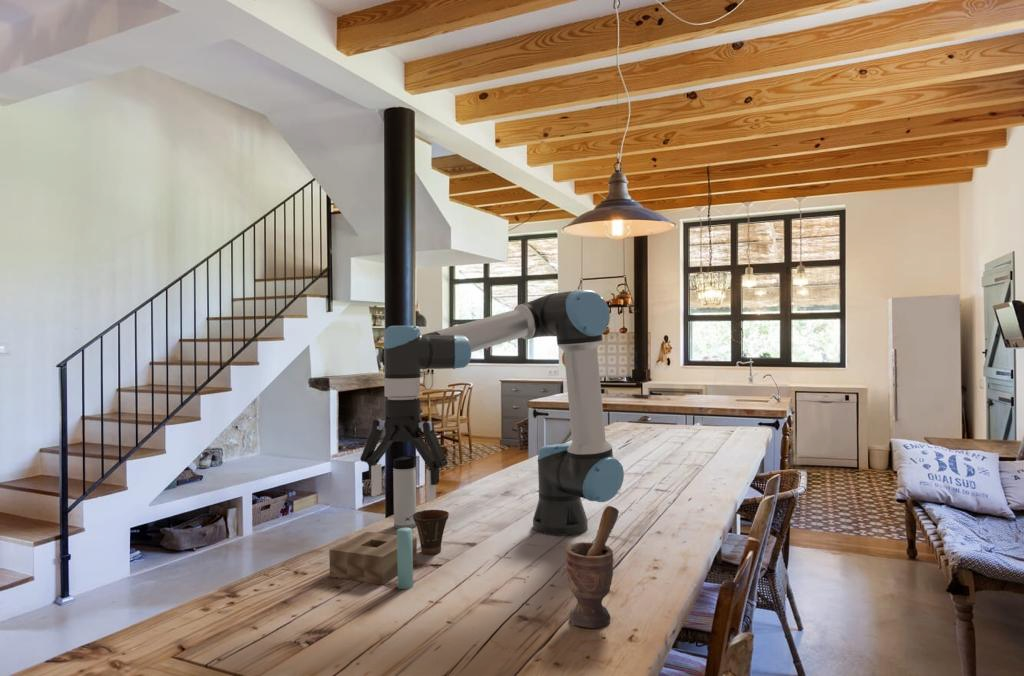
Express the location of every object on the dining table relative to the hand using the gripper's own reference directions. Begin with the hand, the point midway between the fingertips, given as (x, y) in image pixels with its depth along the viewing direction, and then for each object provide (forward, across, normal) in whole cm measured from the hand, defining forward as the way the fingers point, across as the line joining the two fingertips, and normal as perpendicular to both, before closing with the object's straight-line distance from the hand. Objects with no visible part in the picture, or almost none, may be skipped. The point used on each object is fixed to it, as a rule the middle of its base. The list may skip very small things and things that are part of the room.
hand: (403, 497), depth 133 cm
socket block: (+19, +12, -6) cm, 23 cm away
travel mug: (+19, +23, -38) cm, 48 cm away
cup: (+19, +6, -22) cm, 29 cm away
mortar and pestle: (+19, -42, 0) cm, 46 cm away
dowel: (+19, 0, 0) cm, 19 cm away
